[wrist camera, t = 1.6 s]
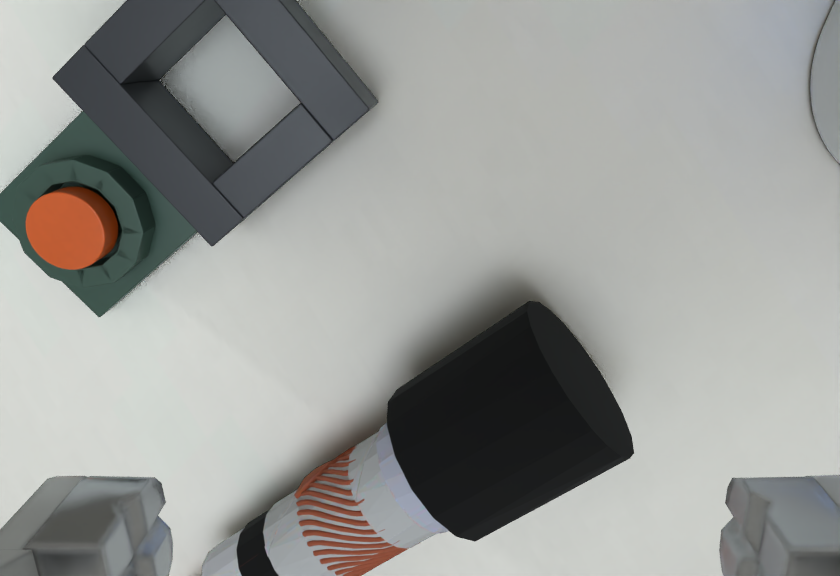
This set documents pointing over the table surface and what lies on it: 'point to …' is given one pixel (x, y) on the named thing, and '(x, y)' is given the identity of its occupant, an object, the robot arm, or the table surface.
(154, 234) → the switch box
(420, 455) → the multicoloured piece
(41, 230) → the power button
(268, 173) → the grey square frame
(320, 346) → the table surface
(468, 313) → the table surface
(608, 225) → the table surface
